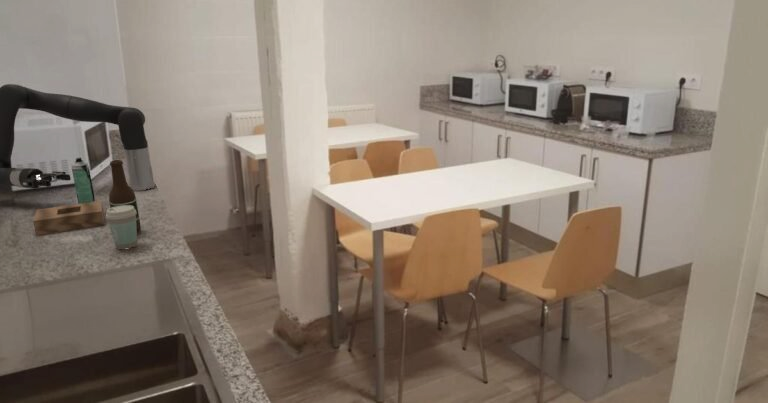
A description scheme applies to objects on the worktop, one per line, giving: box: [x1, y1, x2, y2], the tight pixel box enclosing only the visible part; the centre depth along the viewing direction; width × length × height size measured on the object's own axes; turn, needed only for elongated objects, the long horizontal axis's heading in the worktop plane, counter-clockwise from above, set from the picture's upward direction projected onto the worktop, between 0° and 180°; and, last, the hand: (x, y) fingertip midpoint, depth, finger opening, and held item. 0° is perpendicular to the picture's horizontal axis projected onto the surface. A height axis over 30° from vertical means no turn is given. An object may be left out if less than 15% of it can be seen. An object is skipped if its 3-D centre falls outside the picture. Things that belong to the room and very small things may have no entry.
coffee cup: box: [105, 205, 138, 250], centre depth 169 cm, size 8×8×12 cm
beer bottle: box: [108, 159, 142, 234], centre depth 179 cm, size 8×8×24 cm
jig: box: [32, 200, 105, 236], centre depth 192 cm, size 20×14×5 cm
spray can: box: [71, 157, 96, 204], centre depth 204 cm, size 6×6×20 cm
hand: (59, 180), depth 207 cm, fingers open, 8 cm apart
